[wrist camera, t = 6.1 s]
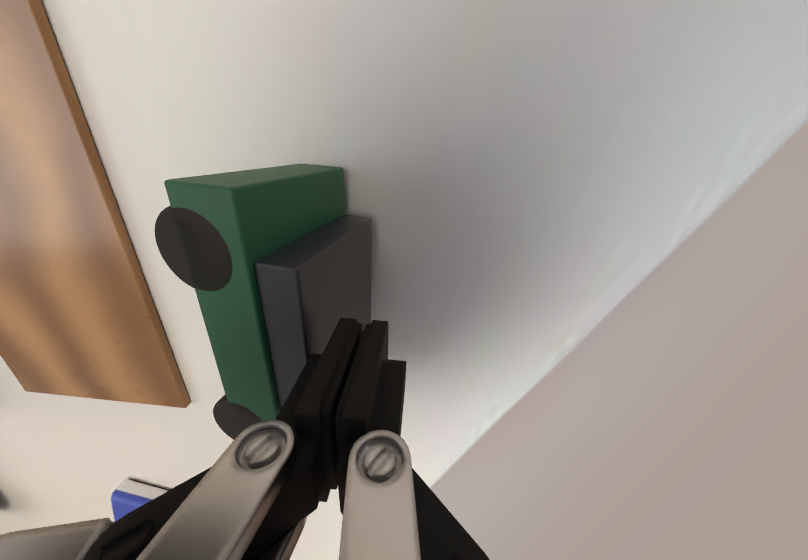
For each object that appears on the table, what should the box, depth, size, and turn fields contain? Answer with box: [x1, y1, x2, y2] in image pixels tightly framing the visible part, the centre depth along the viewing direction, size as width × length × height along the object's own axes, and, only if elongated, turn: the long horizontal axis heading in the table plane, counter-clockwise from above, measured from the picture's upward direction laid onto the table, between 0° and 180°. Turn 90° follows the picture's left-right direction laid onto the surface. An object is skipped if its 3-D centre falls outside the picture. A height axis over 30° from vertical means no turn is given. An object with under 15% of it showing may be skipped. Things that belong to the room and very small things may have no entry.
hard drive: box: [111, 479, 167, 521], centre depth 27 cm, size 2×8×12 cm
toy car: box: [155, 164, 372, 440], centre depth 12 cm, size 4×11×6 cm, turn 176°
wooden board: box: [0, 0, 191, 408], centre depth 16 cm, size 12×22×1 cm, turn 177°
